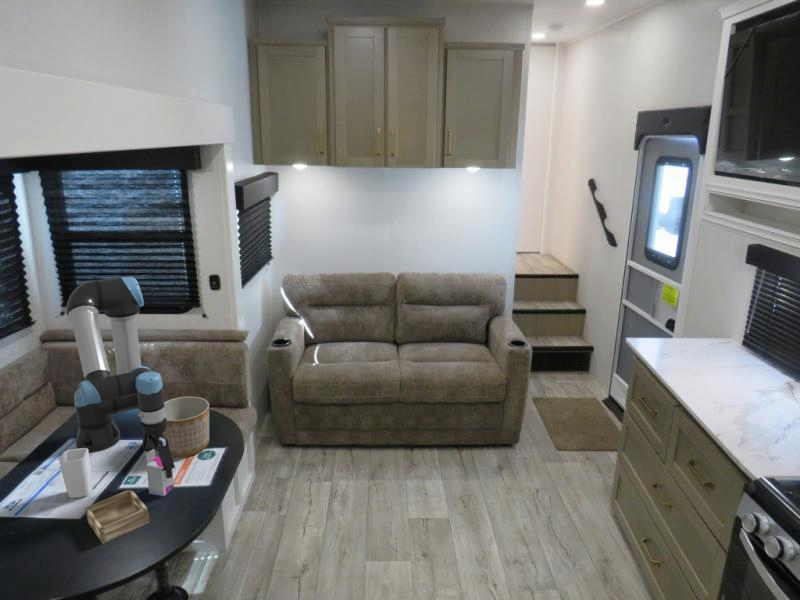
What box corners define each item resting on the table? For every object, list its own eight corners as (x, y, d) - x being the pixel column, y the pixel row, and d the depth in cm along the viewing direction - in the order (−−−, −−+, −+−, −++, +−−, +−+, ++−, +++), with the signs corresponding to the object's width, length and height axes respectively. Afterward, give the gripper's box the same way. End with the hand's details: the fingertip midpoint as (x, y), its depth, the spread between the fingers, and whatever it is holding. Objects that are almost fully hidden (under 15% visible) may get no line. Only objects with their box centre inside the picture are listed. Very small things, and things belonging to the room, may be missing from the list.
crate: (87, 521, 170) (85, 507, 168) (132, 501, 179) (131, 488, 178) (102, 544, 161) (100, 529, 159) (149, 522, 170) (147, 508, 168)
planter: (190, 465, 199) (186, 424, 195) (147, 454, 205) (142, 415, 200) (222, 438, 217) (219, 401, 212) (182, 429, 223) (178, 392, 218)
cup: (95, 485, 187) (89, 447, 182) (90, 498, 180) (83, 459, 176) (71, 488, 185) (64, 450, 180) (65, 502, 178) (58, 462, 174)
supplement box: (164, 497, 181) (161, 467, 178) (148, 495, 183) (145, 465, 179) (175, 487, 187) (171, 457, 184) (159, 484, 188) (155, 455, 185)
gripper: (127, 409, 183) (134, 465, 189) (157, 437, 166) (164, 498, 172) (149, 402, 188) (156, 457, 194) (181, 429, 171) (188, 487, 177)
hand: (160, 476), depth 183 cm, fingers open, 13 cm apart
